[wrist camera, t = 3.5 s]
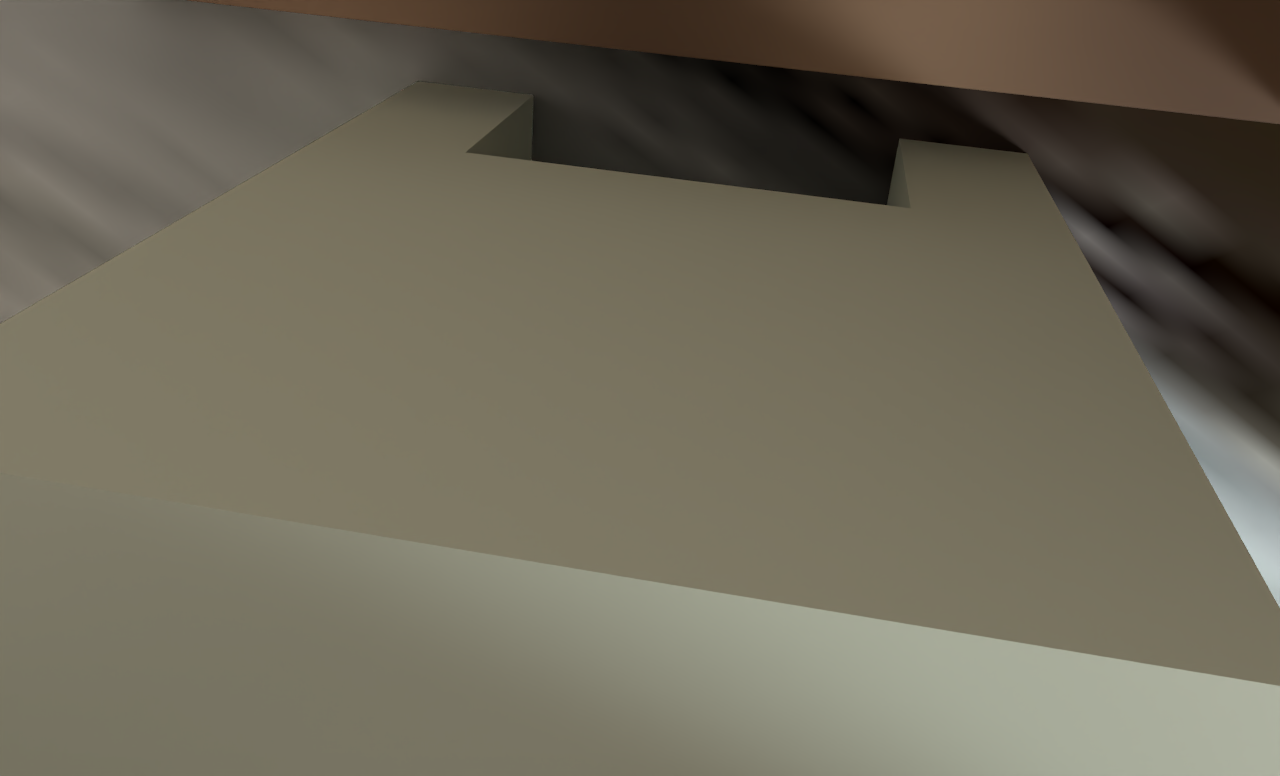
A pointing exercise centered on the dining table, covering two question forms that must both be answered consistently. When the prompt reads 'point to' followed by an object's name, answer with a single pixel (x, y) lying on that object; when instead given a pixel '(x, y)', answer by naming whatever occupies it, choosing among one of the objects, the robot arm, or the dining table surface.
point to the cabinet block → (609, 484)
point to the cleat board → (914, 41)
